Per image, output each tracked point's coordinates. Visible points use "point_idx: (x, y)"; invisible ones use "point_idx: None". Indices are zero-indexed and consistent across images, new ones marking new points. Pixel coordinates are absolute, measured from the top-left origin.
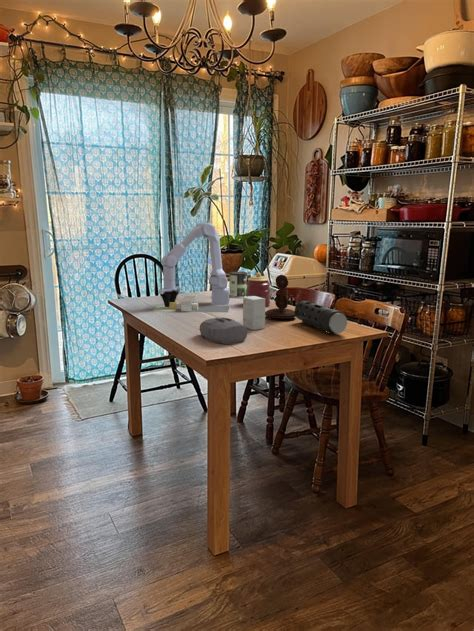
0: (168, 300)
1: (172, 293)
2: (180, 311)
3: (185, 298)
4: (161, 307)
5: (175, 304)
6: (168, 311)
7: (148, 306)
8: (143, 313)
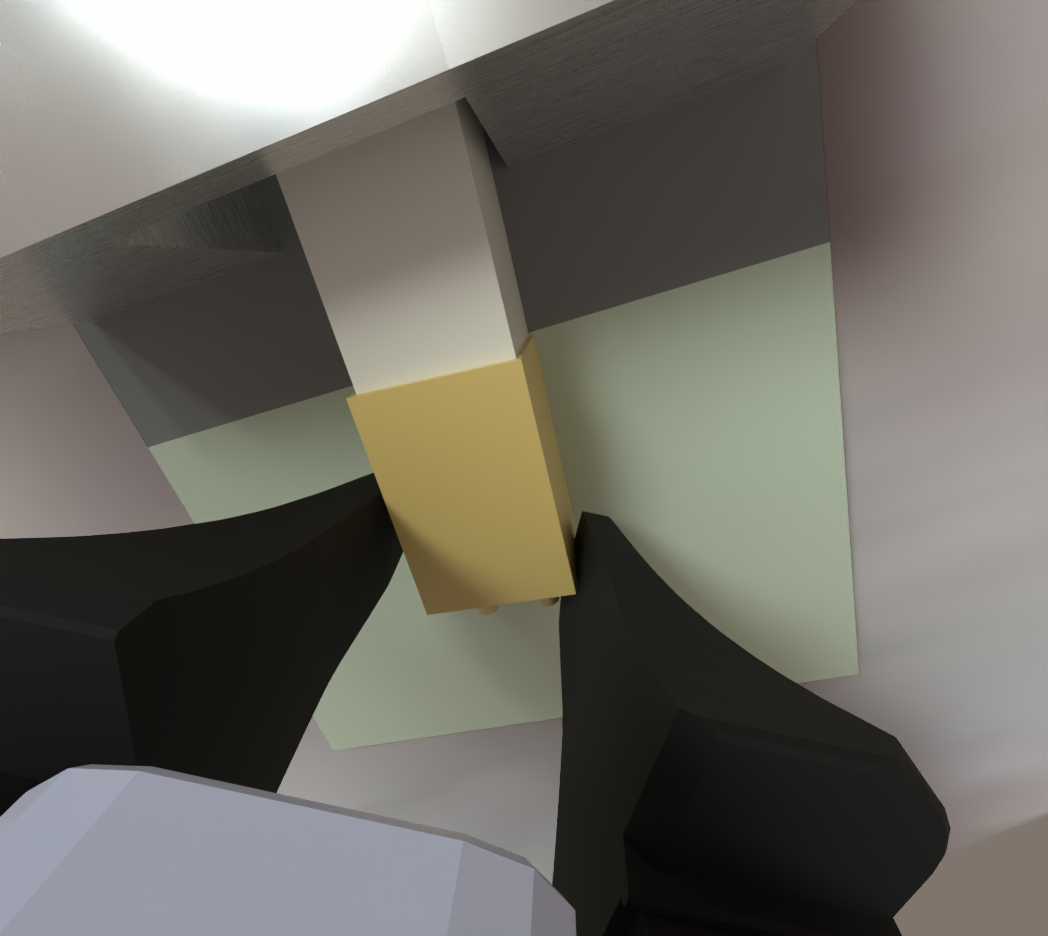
0: (678, 600)
1: (216, 754)
2: (800, 86)
3: (113, 60)
4: (489, 656)
5: (529, 383)
6: (839, 400)
7: (442, 823)
8: (992, 739)
